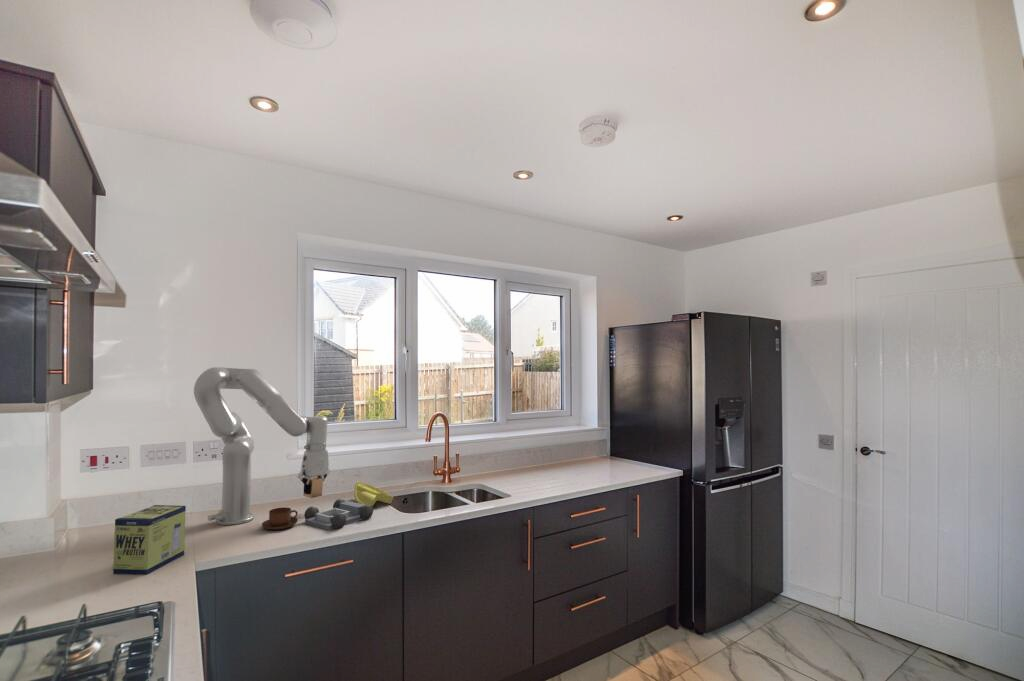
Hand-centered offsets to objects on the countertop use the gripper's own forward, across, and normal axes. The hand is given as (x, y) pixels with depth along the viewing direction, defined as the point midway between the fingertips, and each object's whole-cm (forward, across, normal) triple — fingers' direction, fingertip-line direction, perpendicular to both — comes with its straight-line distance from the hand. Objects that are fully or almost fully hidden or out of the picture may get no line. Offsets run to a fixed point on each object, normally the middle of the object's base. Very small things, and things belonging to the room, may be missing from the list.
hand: (312, 492), depth 203 cm
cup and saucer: (+9, -17, -5) cm, 20 cm away
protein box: (+11, -59, -5) cm, 60 cm away
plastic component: (+8, +25, -7) cm, 28 cm away
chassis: (+8, 0, -17) cm, 19 cm away
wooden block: (+2, 0, 0) cm, 2 cm away
